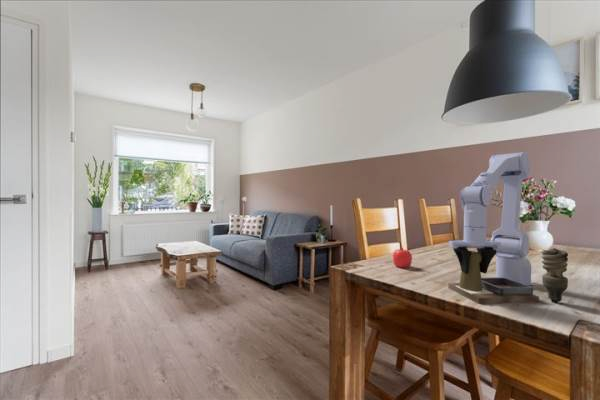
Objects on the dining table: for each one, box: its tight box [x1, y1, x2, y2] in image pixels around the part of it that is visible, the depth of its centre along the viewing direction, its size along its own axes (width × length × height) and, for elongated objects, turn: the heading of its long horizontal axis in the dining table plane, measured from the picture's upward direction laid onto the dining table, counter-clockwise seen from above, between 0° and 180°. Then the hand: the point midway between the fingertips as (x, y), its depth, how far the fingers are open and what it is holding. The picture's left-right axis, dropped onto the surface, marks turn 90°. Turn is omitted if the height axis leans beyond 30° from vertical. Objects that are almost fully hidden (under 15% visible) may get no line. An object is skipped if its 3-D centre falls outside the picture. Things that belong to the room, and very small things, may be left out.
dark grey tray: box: [481, 276, 534, 296], centre depth 83 cm, size 10×10×2 cm
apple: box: [392, 247, 413, 269], centre depth 115 cm, size 8×8×8 cm
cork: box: [458, 250, 483, 291], centre depth 83 cm, size 6×6×11 cm
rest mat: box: [456, 286, 494, 294], centre depth 82 cm, size 7×7×1 cm
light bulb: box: [540, 247, 569, 304], centre depth 77 cm, size 6×6×15 cm
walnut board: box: [447, 282, 540, 305], centre depth 82 cm, size 18×13×2 cm
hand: (474, 272), depth 82 cm, fingers closed on cork, 5 cm apart
